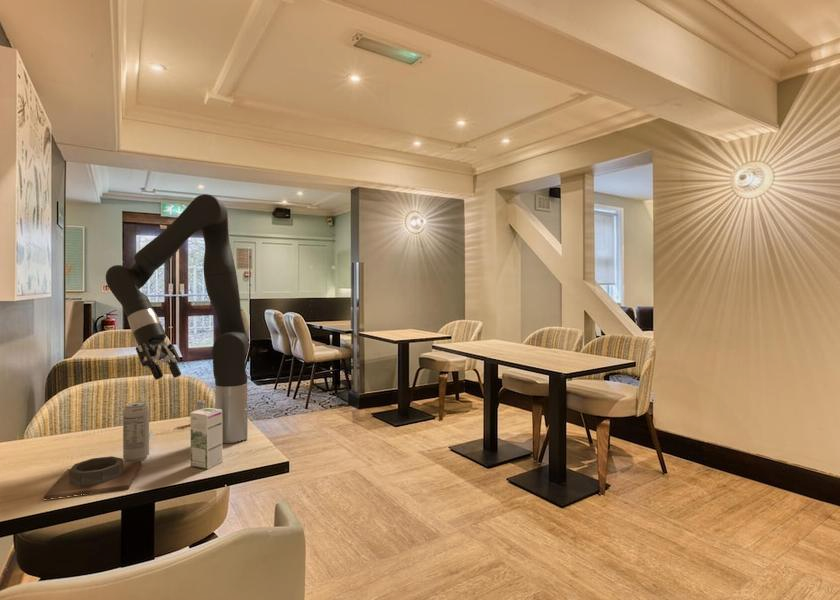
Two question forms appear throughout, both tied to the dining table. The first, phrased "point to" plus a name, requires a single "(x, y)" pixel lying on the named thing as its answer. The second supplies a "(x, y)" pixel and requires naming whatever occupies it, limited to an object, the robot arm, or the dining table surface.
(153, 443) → the dining table surface
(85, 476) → the can holder
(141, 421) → the energy drink can
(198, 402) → the rook chess piece
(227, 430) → the robot arm
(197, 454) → the syrup box
